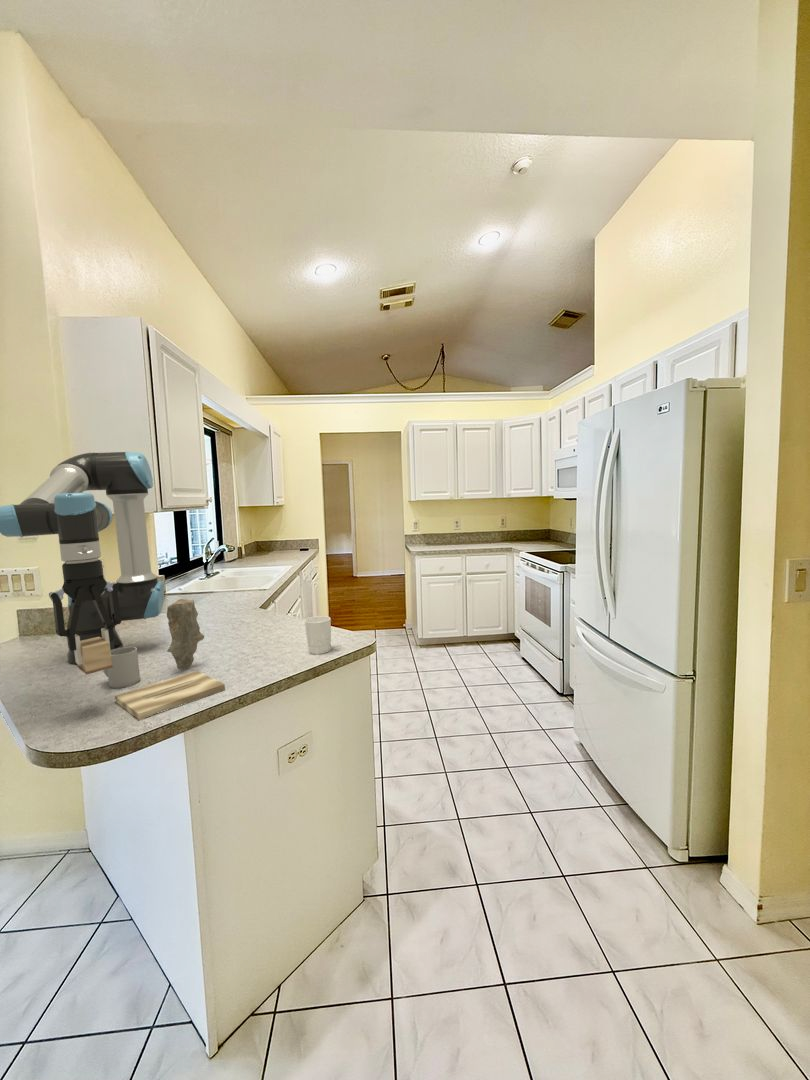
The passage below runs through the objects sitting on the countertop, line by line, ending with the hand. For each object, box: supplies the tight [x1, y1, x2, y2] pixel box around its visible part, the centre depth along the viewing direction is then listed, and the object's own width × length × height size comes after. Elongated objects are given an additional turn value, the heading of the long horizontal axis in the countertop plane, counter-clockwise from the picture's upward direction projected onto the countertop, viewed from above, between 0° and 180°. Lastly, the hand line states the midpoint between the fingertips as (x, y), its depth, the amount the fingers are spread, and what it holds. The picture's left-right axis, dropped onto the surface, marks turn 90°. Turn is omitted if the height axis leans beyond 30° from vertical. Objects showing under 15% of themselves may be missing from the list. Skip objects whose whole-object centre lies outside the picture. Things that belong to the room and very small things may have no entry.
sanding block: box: [76, 637, 113, 676], centre depth 109 cm, size 8×5×6 cm, turn 47°
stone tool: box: [166, 598, 205, 671], centre depth 134 cm, size 12×6×20 cm, turn 150°
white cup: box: [304, 615, 332, 655], centre depth 145 cm, size 8×8×10 cm
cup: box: [102, 646, 141, 689], centre depth 126 cm, size 7×10×9 cm
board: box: [114, 670, 226, 721], centre depth 116 cm, size 16×20×2 cm
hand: (93, 659), depth 109 cm, fingers closed on sanding block, 5 cm apart
